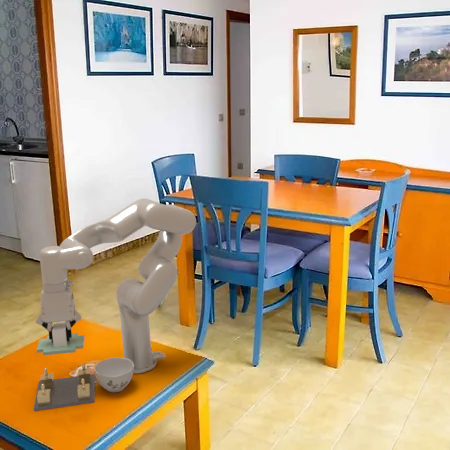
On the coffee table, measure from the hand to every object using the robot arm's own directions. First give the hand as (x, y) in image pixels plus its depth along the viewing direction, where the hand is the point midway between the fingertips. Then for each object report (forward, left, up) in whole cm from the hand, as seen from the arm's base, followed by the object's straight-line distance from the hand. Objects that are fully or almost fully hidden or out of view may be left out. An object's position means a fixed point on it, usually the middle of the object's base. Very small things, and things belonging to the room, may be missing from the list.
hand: (60, 339), depth 179 cm
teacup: (-16, +2, -18) cm, 24 cm away
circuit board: (0, 0, -2) cm, 2 cm away
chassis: (0, +2, -18) cm, 18 cm away
